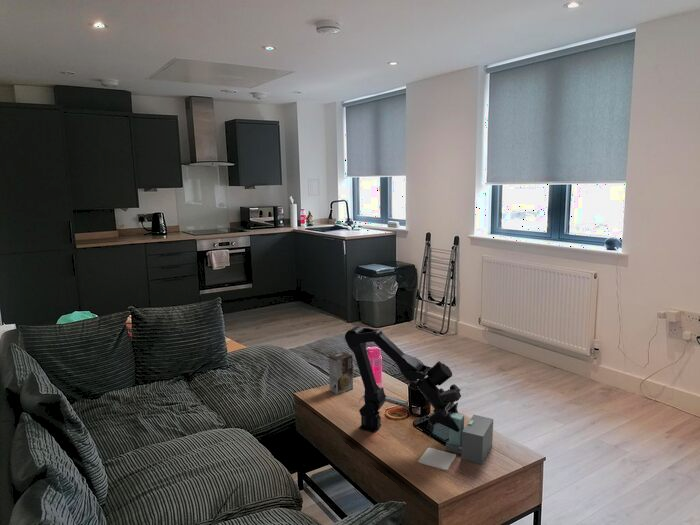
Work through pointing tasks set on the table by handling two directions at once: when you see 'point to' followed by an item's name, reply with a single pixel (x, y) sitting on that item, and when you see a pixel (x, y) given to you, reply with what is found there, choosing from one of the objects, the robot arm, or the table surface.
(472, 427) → the charging dock
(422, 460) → the mat
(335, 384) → the coffee box
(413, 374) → the robot arm
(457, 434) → the key block
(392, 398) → the adjustable wrench
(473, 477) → the table surface
